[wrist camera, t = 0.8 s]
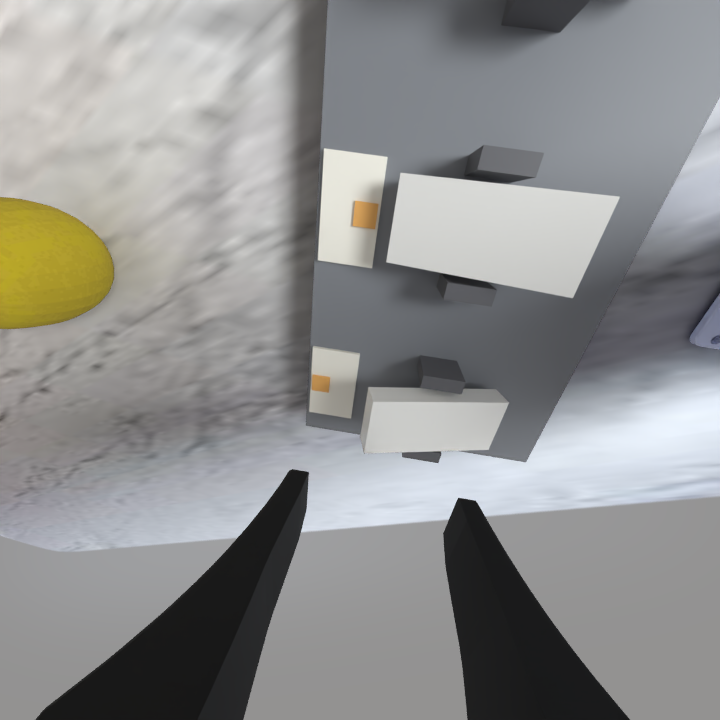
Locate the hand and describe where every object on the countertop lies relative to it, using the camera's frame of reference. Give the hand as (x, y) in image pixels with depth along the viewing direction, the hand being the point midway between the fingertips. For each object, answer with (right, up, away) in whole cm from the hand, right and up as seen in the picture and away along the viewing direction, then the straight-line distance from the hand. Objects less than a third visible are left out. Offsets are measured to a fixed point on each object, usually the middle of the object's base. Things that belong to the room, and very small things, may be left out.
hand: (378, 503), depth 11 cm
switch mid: (+4, +10, +1) cm, 11 cm away
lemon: (-16, +11, +7) cm, 21 cm away
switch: (+3, +2, +5) cm, 6 cm away
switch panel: (+5, +12, +4) cm, 13 cm away
